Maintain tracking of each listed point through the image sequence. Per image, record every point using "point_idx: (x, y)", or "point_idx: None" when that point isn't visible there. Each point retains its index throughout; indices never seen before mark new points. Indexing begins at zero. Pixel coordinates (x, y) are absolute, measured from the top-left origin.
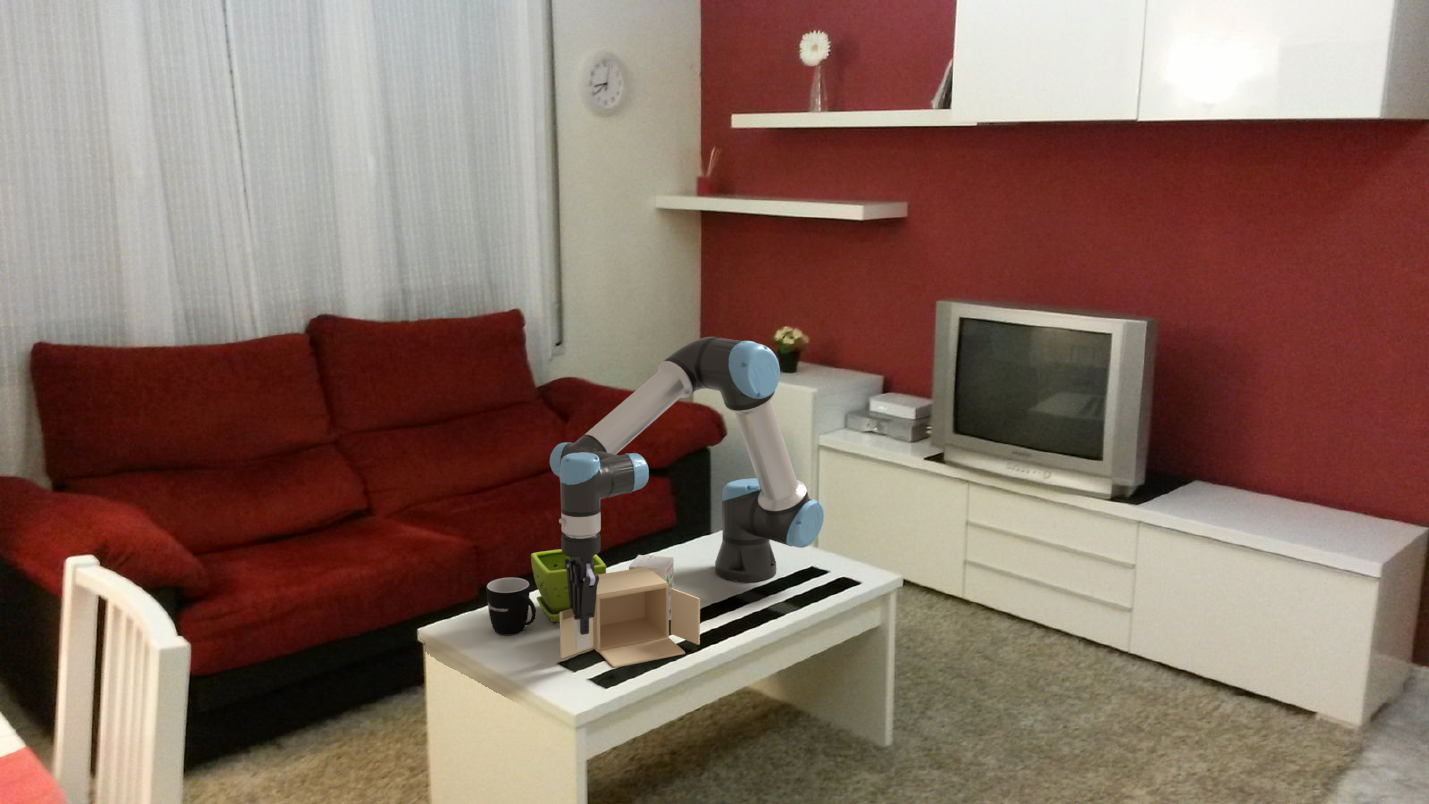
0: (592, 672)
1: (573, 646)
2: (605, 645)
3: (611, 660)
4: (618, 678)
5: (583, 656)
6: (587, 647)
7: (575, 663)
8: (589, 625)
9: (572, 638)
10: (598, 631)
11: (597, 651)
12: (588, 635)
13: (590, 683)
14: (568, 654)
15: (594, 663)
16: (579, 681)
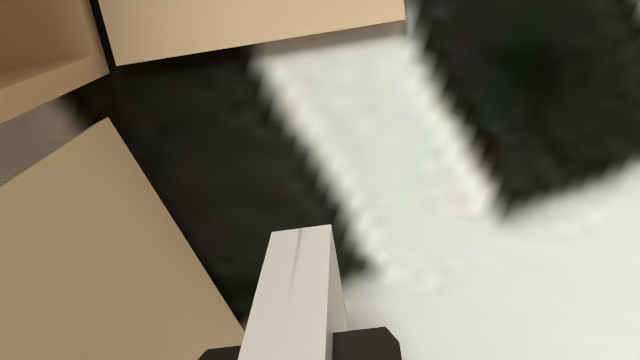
0: (418, 172)
1: (188, 297)
2: (35, 1)
3: (302, 14)
4: (580, 24)
5: (157, 176)
6: (334, 248)
7: (252, 242)
8: (323, 350)
9: (175, 344)
10: (29, 99)
11: (104, 74)
12: (332, 296)
13: (570, 215)
14: (224, 308)
15: (285, 131)
16: (515, 268)
